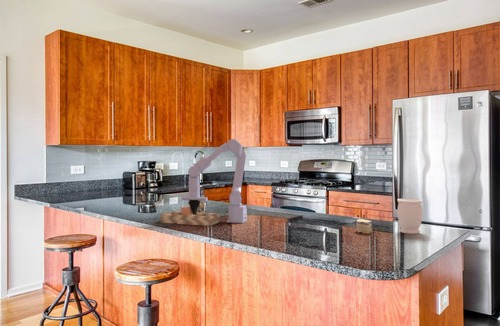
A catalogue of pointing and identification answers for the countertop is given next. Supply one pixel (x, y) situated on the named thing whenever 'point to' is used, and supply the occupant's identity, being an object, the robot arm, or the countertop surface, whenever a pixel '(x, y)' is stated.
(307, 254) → the countertop surface
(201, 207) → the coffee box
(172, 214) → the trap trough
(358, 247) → the countertop surface
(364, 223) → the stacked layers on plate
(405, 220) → the jar
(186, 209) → the terracotta block
